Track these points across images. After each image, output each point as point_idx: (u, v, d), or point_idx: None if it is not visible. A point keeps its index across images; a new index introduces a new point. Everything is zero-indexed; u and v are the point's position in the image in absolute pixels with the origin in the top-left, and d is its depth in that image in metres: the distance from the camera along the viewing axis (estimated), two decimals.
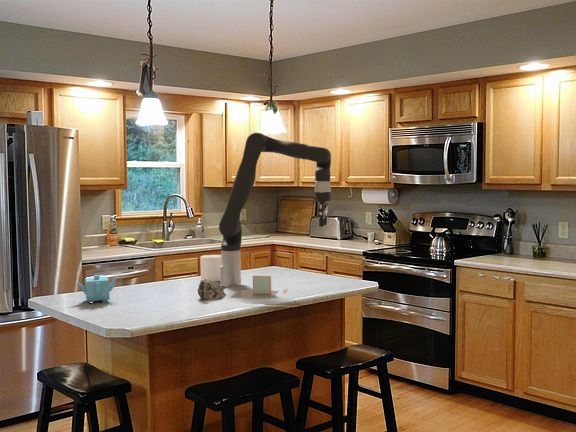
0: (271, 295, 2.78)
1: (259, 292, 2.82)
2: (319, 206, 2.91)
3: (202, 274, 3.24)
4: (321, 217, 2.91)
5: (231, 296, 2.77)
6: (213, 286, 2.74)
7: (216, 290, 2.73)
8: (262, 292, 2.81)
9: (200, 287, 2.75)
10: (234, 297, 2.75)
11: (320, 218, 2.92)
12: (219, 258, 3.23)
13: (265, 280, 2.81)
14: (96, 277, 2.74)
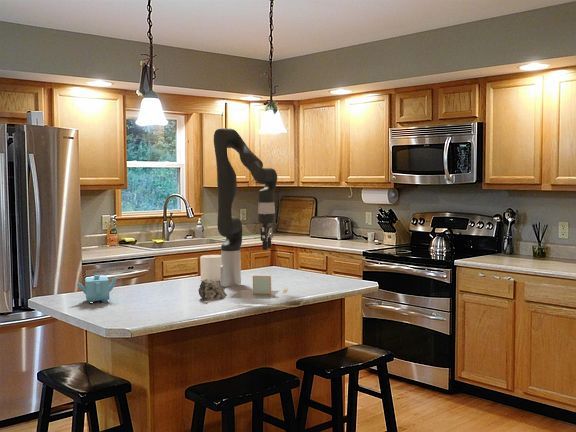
0: (271, 295, 2.78)
1: (259, 292, 2.82)
2: (261, 229, 2.84)
3: (202, 274, 3.24)
4: (264, 240, 2.85)
5: (231, 296, 2.77)
6: (214, 286, 2.74)
7: (217, 290, 2.73)
8: (262, 292, 2.81)
9: (201, 287, 2.75)
10: (234, 297, 2.75)
11: (263, 241, 2.86)
12: (219, 258, 3.23)
13: (265, 280, 2.81)
14: (96, 277, 2.74)
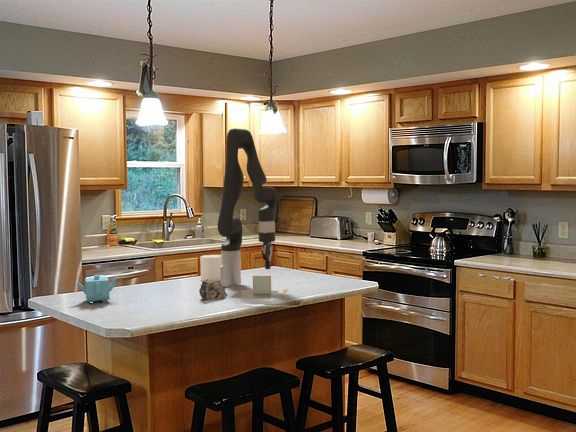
0: (271, 295, 2.78)
1: (259, 292, 2.82)
2: (263, 252, 2.85)
3: (202, 274, 3.24)
4: (266, 260, 2.88)
5: (231, 296, 2.77)
6: (215, 286, 2.73)
7: (218, 290, 2.73)
8: (262, 292, 2.81)
9: (202, 287, 2.74)
10: (234, 297, 2.75)
11: (266, 261, 2.90)
12: (219, 258, 3.23)
13: (265, 280, 2.81)
14: (96, 277, 2.74)
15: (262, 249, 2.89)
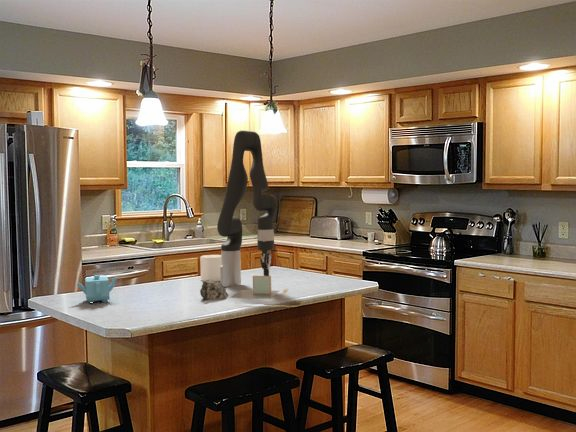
0: (271, 295, 2.78)
1: (259, 292, 2.82)
2: (261, 261, 2.83)
3: (202, 274, 3.24)
4: (265, 268, 2.86)
5: (231, 296, 2.77)
6: (216, 286, 2.73)
7: (219, 290, 2.73)
8: (262, 292, 2.81)
9: (203, 287, 2.74)
10: (234, 297, 2.75)
11: (264, 269, 2.87)
12: (219, 258, 3.23)
13: (265, 280, 2.81)
14: (96, 277, 2.74)
15: (261, 257, 2.87)
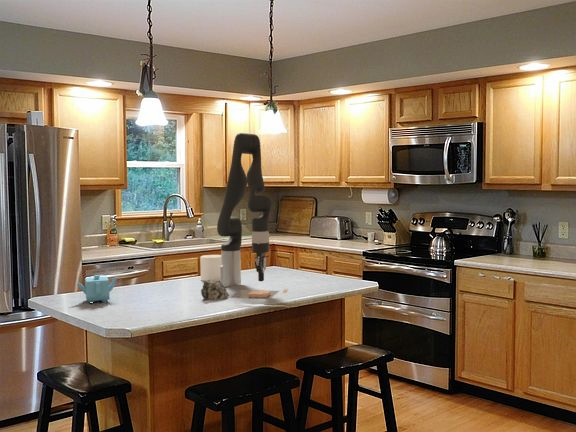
0: (271, 295, 2.78)
1: None
2: (256, 264, 2.73)
3: (202, 274, 3.24)
4: (260, 271, 2.77)
5: (231, 296, 2.77)
6: (217, 286, 2.73)
7: (221, 290, 2.73)
8: None
9: (204, 288, 2.74)
10: (234, 297, 2.75)
11: (259, 272, 2.78)
12: (219, 258, 3.23)
13: None
14: (96, 277, 2.74)
15: None
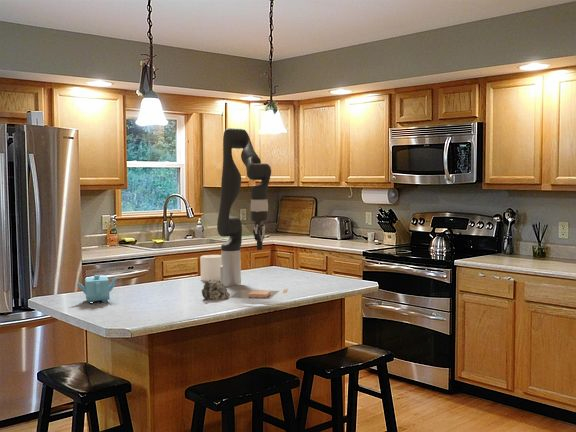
0: (271, 295, 2.78)
1: None
2: (254, 232, 2.71)
3: (202, 274, 3.24)
4: (258, 240, 2.75)
5: (231, 296, 2.77)
6: (218, 286, 2.73)
7: (222, 290, 2.72)
8: None
9: (205, 288, 2.73)
10: (234, 297, 2.75)
11: (258, 241, 2.76)
12: (219, 258, 3.23)
13: None
14: (96, 277, 2.74)
15: (254, 229, 2.76)
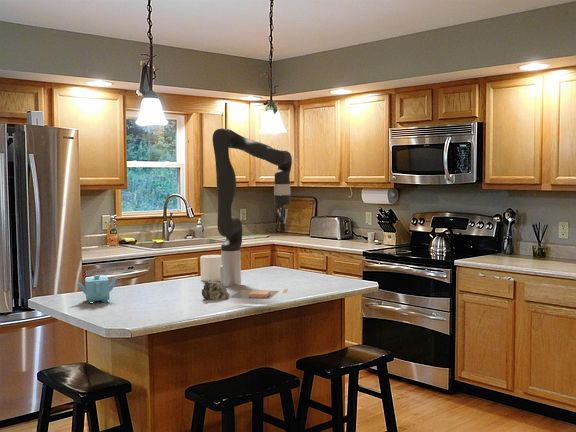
0: (271, 295, 2.78)
1: None
2: (278, 214, 2.90)
3: (202, 274, 3.24)
4: (282, 222, 2.93)
5: (231, 296, 2.77)
6: (219, 286, 2.73)
7: (222, 290, 2.72)
8: None
9: (205, 288, 2.73)
10: (234, 297, 2.75)
11: (281, 223, 2.94)
12: (219, 258, 3.23)
13: None
14: (96, 277, 2.74)
15: (277, 212, 2.94)
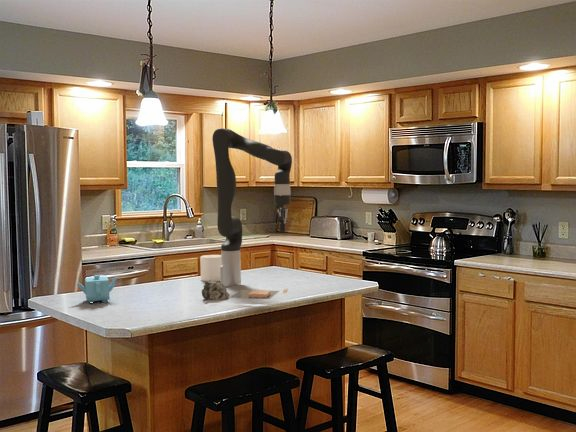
0: (271, 295, 2.78)
1: None
2: (278, 214, 2.90)
3: (202, 274, 3.24)
4: (282, 222, 2.93)
5: (231, 296, 2.77)
6: (219, 287, 2.73)
7: (222, 290, 2.72)
8: None
9: (205, 288, 2.73)
10: (234, 297, 2.75)
11: (281, 223, 2.94)
12: (219, 258, 3.23)
13: None
14: (96, 277, 2.74)
15: (277, 212, 2.94)
